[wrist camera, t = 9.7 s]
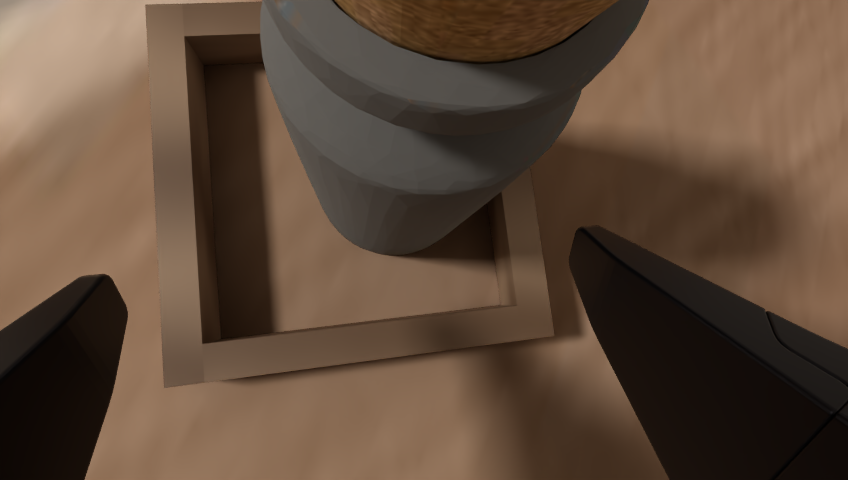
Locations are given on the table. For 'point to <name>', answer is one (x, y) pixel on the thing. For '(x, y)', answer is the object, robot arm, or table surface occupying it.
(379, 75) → the bottle
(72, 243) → the table surface
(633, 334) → the robot arm
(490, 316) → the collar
